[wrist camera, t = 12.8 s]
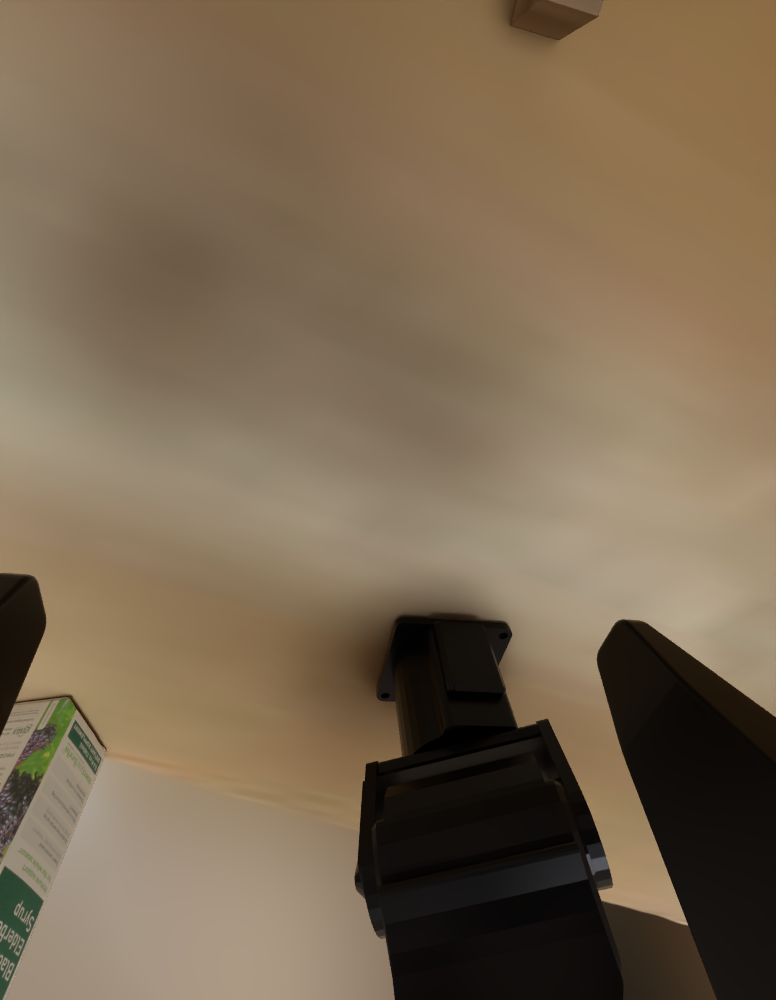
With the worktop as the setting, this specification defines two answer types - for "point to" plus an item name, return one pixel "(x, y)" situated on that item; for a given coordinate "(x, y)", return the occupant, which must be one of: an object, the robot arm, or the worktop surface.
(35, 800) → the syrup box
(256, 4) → the worktop surface
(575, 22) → the brown wooden bar
